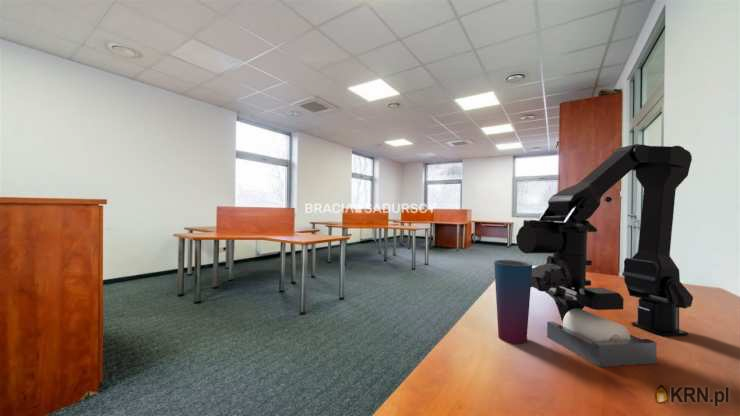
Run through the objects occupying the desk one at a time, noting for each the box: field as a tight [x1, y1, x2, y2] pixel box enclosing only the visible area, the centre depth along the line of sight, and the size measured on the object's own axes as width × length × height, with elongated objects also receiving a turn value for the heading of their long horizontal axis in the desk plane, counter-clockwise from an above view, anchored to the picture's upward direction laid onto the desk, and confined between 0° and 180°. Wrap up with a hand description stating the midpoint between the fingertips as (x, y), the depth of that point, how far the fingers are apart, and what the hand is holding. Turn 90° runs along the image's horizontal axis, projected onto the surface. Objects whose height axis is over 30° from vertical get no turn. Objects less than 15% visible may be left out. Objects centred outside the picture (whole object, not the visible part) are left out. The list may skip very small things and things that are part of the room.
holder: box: [546, 321, 658, 368], centre depth 53 cm, size 11×11×4 cm
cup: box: [493, 259, 533, 345], centre depth 57 cm, size 7×7×15 cm
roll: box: [562, 308, 631, 341], centre depth 53 cm, size 8×6×6 cm
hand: (566, 327), depth 60 cm, fingers closed
